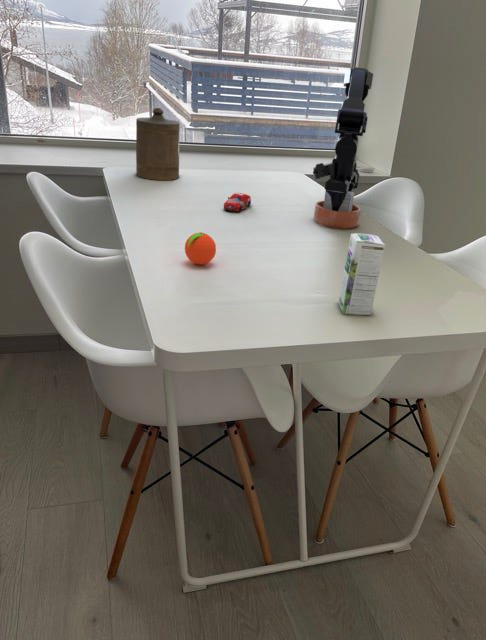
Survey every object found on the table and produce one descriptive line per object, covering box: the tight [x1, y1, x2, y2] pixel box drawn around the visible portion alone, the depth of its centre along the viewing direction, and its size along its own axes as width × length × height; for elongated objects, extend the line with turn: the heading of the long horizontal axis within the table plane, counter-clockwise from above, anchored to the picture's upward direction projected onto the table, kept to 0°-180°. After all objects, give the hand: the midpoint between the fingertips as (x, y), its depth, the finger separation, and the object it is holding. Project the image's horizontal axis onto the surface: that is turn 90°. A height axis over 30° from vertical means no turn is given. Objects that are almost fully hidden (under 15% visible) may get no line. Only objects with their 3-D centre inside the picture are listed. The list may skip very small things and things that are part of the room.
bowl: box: [313, 200, 361, 230], centre depth 172 cm, size 13×13×5 cm
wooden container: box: [135, 107, 181, 181], centre depth 201 cm, size 15×15×22 cm
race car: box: [223, 192, 252, 213], centre depth 177 cm, size 13×5×4 cm, turn 161°
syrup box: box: [338, 233, 386, 316], centre depth 112 cm, size 6×6×14 cm
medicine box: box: [323, 190, 355, 212], centre depth 171 cm, size 8×4×9 cm, turn 71°
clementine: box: [184, 231, 217, 266], centre depth 128 cm, size 8×7×7 cm
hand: (337, 211), depth 171 cm, fingers open, 9 cm apart
